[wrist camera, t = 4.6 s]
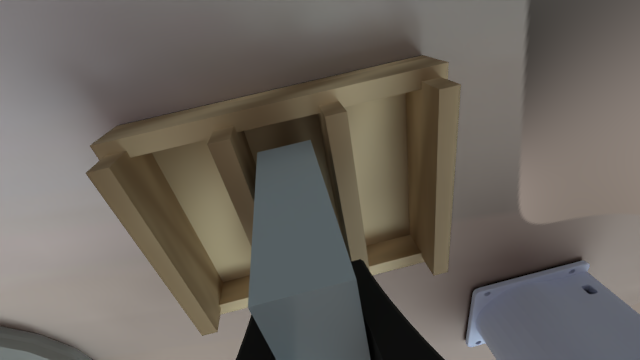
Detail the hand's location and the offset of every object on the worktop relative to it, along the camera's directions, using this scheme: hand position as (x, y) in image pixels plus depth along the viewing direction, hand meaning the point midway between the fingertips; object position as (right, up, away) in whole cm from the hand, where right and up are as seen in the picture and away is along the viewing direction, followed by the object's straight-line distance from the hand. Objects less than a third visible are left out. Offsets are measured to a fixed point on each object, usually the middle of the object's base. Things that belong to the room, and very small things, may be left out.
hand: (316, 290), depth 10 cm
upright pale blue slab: (-1, +2, +4) cm, 4 cm away
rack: (-1, +3, +6) cm, 7 cm away
